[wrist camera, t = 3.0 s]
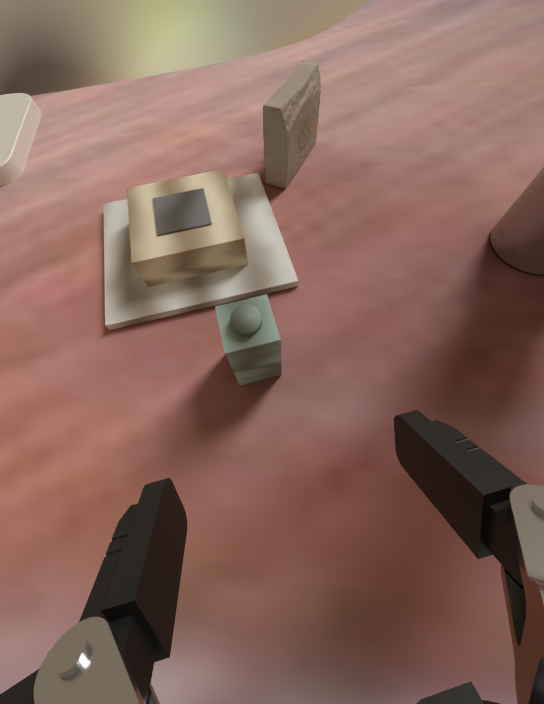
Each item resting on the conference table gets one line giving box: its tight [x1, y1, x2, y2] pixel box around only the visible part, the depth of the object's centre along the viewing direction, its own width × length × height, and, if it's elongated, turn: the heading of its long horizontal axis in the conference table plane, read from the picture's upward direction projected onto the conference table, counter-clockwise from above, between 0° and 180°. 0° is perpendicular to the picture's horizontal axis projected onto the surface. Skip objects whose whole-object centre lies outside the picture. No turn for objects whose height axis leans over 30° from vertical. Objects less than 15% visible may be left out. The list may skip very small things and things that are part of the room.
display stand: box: [103, 169, 298, 330], centre depth 35 cm, size 22×20×5 cm
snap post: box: [215, 294, 281, 386], centre depth 26 cm, size 4×4×9 cm
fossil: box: [263, 61, 321, 189], centre depth 39 cm, size 12×4×10 cm, turn 156°
